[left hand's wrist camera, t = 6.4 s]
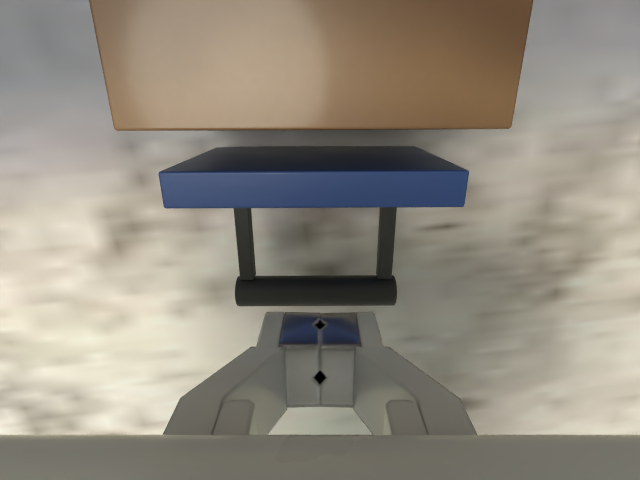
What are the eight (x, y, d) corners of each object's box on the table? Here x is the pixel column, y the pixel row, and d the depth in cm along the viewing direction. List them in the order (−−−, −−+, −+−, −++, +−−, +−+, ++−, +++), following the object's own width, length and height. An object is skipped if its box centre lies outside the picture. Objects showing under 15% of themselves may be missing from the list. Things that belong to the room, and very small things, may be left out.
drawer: (405, 269, 20) (445, 346, 14) (228, 269, 20) (185, 347, 14) (453, -284, 13) (590, -682, 6) (171, -283, 12) (19, -680, 6)
